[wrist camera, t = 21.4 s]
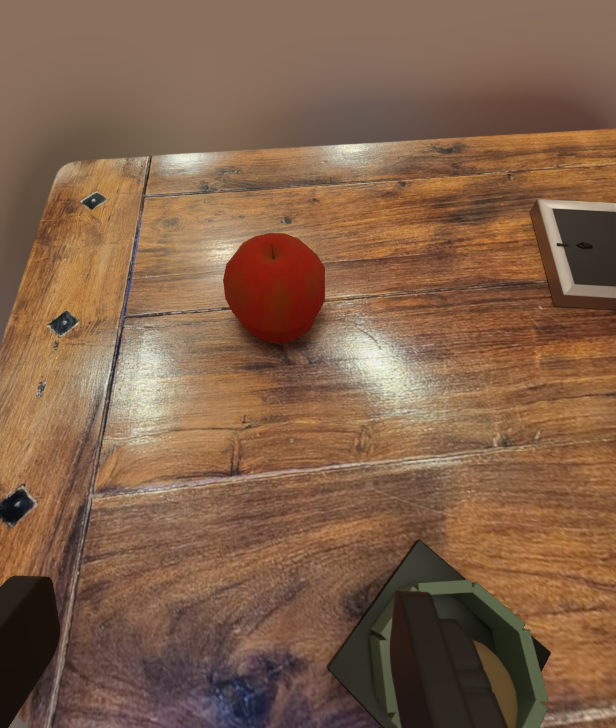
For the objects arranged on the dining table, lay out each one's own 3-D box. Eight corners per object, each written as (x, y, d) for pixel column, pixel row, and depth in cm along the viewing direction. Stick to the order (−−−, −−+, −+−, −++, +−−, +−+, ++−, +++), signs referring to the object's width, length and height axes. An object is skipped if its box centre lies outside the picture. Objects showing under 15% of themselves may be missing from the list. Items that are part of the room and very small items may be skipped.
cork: (405, 604, 33) (444, 605, 24) (478, 653, 32) (552, 675, 22) (369, 684, 31) (397, 722, 21) (446, 742, 29) (514, 811, 20)
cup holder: (462, 812, 28) (497, 860, 23) (326, 666, 32) (330, 679, 27) (545, 651, 33) (590, 660, 27) (416, 540, 37) (434, 530, 31)
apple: (217, 336, 47) (193, 264, 37) (260, 273, 51) (249, 193, 41) (300, 370, 45) (297, 303, 35) (337, 301, 49) (345, 224, 39)
